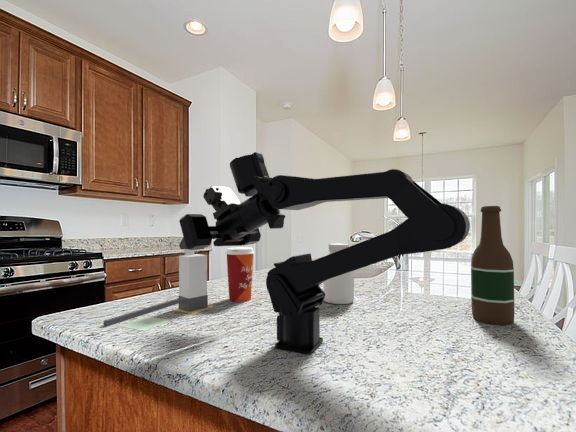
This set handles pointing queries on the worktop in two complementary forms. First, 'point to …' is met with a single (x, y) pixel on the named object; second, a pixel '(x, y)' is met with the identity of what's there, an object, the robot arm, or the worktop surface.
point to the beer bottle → (492, 273)
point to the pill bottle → (339, 283)
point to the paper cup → (240, 273)
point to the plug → (192, 281)
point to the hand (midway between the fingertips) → (198, 245)
